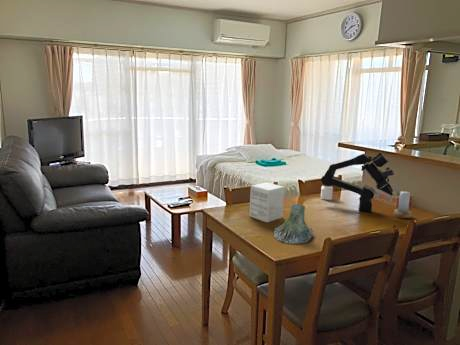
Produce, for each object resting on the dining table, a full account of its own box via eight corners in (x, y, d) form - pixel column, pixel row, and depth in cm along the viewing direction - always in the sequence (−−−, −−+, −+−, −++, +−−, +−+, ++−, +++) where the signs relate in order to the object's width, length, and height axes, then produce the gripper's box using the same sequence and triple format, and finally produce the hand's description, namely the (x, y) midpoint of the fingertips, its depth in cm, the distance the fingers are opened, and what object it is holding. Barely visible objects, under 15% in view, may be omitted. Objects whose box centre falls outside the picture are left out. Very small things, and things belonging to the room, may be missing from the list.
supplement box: (264, 211, 211) (266, 181, 207) (282, 217, 202) (284, 186, 198) (248, 216, 202) (250, 185, 198) (267, 222, 192) (269, 190, 189)
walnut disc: (395, 217, 207) (395, 212, 207) (392, 213, 216) (393, 208, 215) (412, 219, 205) (413, 214, 205) (409, 214, 214) (409, 209, 213)
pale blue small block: (396, 211, 209) (399, 192, 207) (398, 209, 214) (401, 190, 211) (406, 213, 206) (409, 194, 204) (408, 211, 211) (411, 192, 208)
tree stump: (264, 238, 173) (269, 200, 173) (285, 236, 189) (290, 201, 189) (299, 247, 161) (305, 206, 162) (318, 244, 177) (323, 207, 178)
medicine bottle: (332, 200, 239) (333, 182, 237) (321, 199, 241) (322, 181, 238) (331, 197, 246) (333, 179, 244) (320, 196, 247) (322, 179, 245)
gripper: (385, 165, 201) (405, 188, 199) (386, 161, 218) (404, 181, 216) (368, 178, 206) (387, 200, 204) (370, 172, 223) (388, 192, 221)
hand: (392, 193), depth 211 cm, fingers open, 9 cm apart
